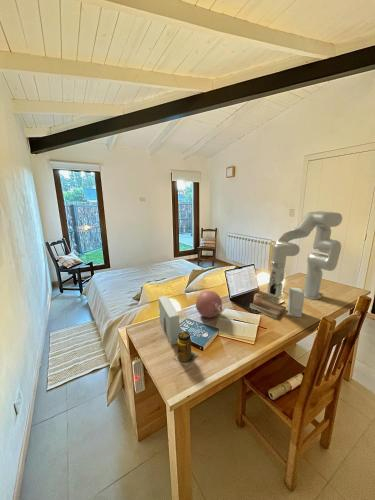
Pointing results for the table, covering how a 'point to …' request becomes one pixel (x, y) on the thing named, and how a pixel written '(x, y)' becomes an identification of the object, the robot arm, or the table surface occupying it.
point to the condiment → (184, 349)
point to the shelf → (269, 308)
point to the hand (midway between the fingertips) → (274, 292)
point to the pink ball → (209, 304)
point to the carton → (278, 290)
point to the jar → (257, 299)
